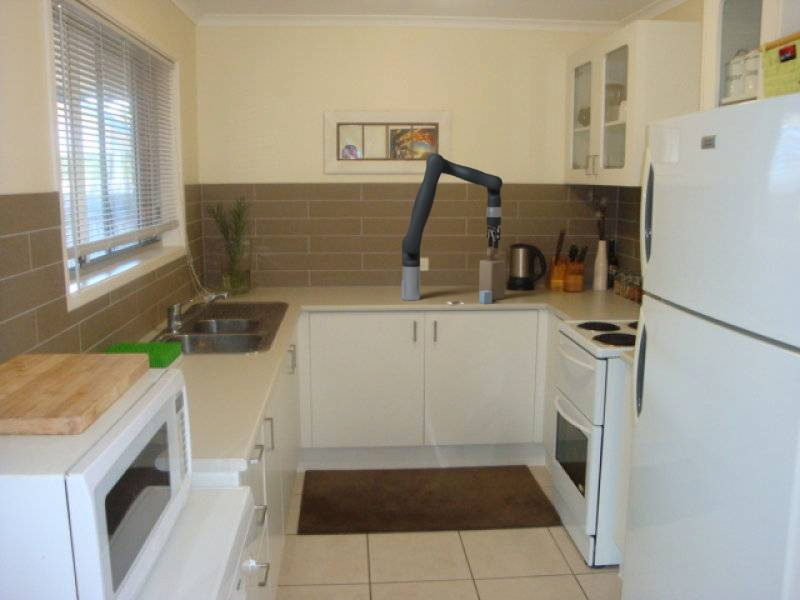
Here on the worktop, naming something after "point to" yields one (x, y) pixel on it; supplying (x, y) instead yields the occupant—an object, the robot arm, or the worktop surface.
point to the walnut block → (492, 254)
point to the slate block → (485, 297)
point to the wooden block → (492, 278)
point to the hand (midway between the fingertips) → (493, 247)
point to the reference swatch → (455, 303)
